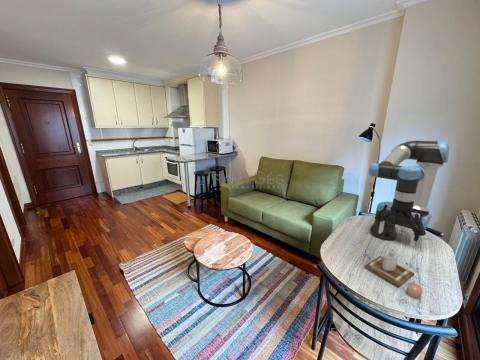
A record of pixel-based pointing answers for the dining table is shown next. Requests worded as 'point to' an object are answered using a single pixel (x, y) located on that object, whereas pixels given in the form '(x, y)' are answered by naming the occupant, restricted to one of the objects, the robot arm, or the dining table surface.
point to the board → (389, 272)
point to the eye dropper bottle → (390, 261)
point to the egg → (414, 290)
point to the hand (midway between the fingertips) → (395, 238)
